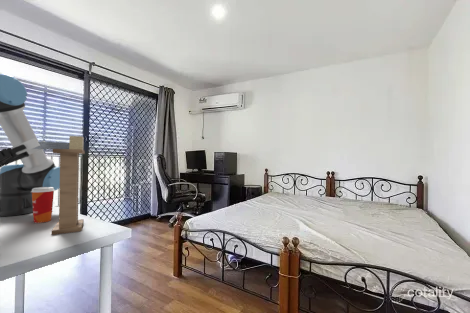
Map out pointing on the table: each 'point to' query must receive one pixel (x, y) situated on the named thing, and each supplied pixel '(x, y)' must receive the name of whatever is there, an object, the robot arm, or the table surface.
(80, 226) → the stand
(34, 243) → the table surface
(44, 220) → the paper cup
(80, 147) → the gray and beige block
